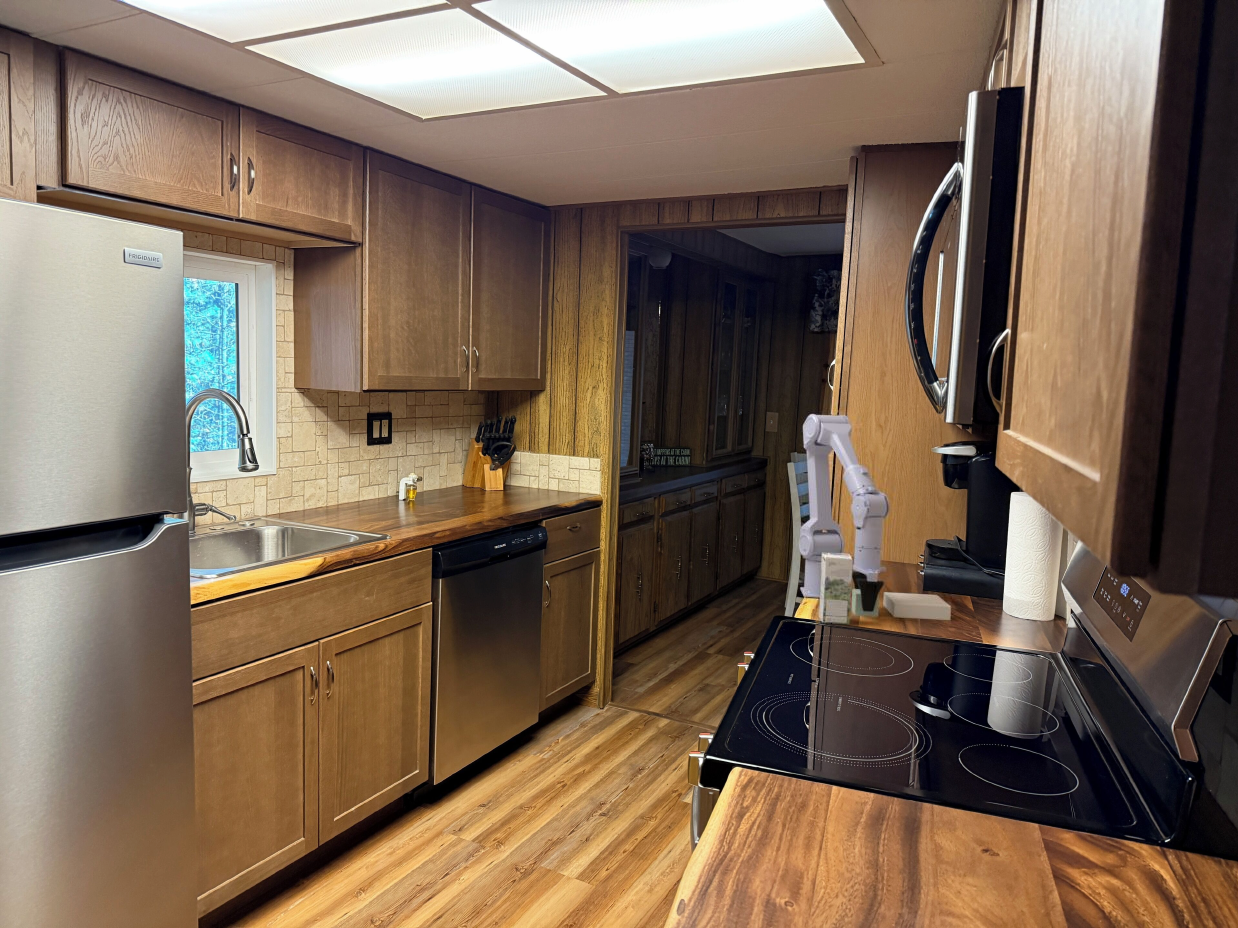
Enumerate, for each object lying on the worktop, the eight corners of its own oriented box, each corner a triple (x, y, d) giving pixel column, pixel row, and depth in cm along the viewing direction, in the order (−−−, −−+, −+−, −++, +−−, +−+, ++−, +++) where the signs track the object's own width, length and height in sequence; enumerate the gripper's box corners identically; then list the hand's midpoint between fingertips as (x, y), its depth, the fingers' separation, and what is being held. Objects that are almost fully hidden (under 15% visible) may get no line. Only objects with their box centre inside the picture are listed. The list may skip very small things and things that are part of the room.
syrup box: (845, 618, 185) (848, 552, 184) (849, 625, 180) (853, 557, 179) (818, 617, 186) (821, 551, 185) (822, 623, 180) (825, 556, 179)
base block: (883, 604, 200) (883, 592, 200) (936, 607, 199) (936, 594, 199) (894, 616, 188) (894, 603, 188) (950, 620, 187) (951, 606, 187)
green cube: (851, 610, 194) (852, 588, 193) (873, 611, 193) (875, 590, 193) (854, 615, 189) (856, 593, 188) (878, 617, 188) (879, 594, 188)
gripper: (893, 553, 182) (889, 615, 183) (880, 542, 197) (877, 600, 197) (859, 551, 183) (856, 613, 184) (848, 541, 197) (846, 599, 198)
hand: (864, 607), depth 191 cm, fingers open, 7 cm apart
